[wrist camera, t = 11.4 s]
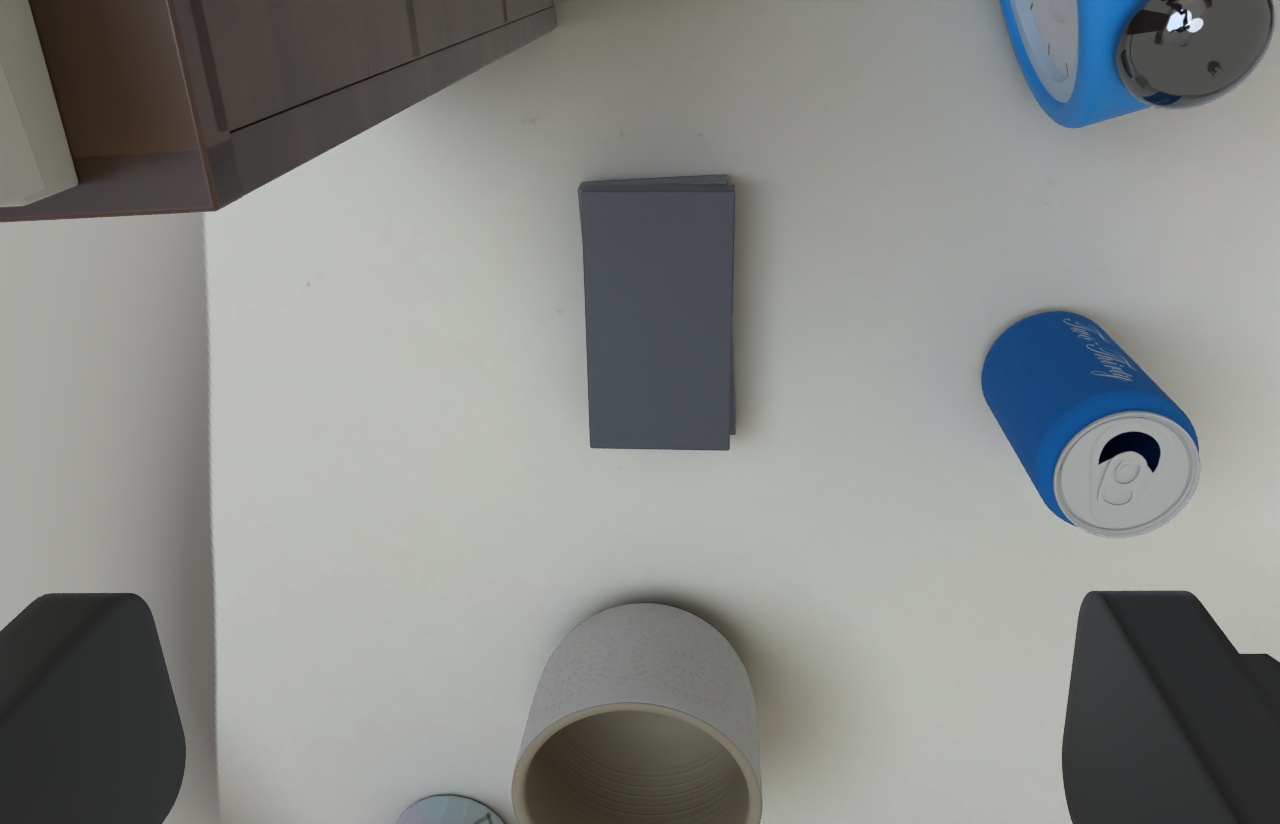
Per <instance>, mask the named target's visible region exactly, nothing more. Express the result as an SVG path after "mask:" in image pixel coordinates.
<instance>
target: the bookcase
mask: <svg viewBox="0 0 1280 824" xmlns="http://www.w3.org/2000/svg"><path fill="white" fill-rule="evenodd" d="M28 1H29V5H30V8H31V12H32V15H33V19H34V23H35V26H36V30H37V34H38V37H39V41H40V45H41V48H42V52H43V55H44V59H45V63H46V66H47V70H48V74H49V77H50V81H51V84H52V88H53V92H54V95H55V99H56V103H57V106H58V110H59V114H60V117H61V121H62V124H63V128H64V132H65V135H66V139H67V143H68V146H69V150H70V153H71V157H72V161H73V164H74V168H75V172H76V175H77V179H78V185H77V186H75V187H72V188H70V189H67V190H64V191H62V192H59V193H57V194H54V195H51V196H49V197H46V198H43V199H41V200H38V201H36V202H33V203H30V204H28V205H25V206H16V207H0V222H17V221H36V220H55V219H74V218H94V217H113V216H133V215H152V214H171V213H190V212H210V211H217V210H219V209H221V208H223V207H225V206H226V205H228V204H230V203H232V202H234V201H236V200H238V199H239V198H241V197H242V196H244V195H246V194H248V193H250V192H252V191H253V190H255V189H257V188H259V187H261V186H263V185H265V184H266V183H268V182H270V181H272V180H274V179H276V178H278V177H280V176H281V175H283V174H285V173H287V172H289V171H291V170H293V169H294V168H296V167H298V166H300V165H302V164H304V163H306V162H308V161H309V160H311V159H313V158H315V157H317V156H319V155H321V154H322V153H324V152H326V151H328V150H330V149H332V148H334V147H336V146H337V145H339V144H341V143H343V142H345V141H347V140H349V139H350V138H352V137H354V136H356V135H358V134H360V133H362V132H364V131H365V130H367V129H369V128H371V127H373V126H375V125H377V124H378V123H380V122H382V121H384V120H386V119H388V118H390V117H392V116H393V115H395V114H397V113H399V112H401V111H403V110H405V109H406V108H408V107H410V106H412V105H414V104H416V103H418V102H419V101H421V100H423V99H425V98H427V97H429V96H431V95H433V94H434V93H436V92H438V91H440V90H442V89H444V88H446V87H447V86H449V85H451V84H453V83H455V82H457V81H459V80H461V79H462V78H464V77H466V76H468V75H470V74H472V73H474V72H475V71H477V70H479V69H481V68H483V67H485V66H487V65H489V64H490V63H492V62H494V61H496V60H498V59H500V58H502V57H503V56H505V55H507V54H509V53H511V52H513V51H515V50H517V49H518V48H520V47H522V46H524V45H526V44H528V43H530V42H531V41H533V40H535V39H537V38H539V37H541V36H543V35H544V34H546V33H548V32H550V31H552V30H554V29H556V16H555V7H554V6H553V5H554V0H28Z"/></svg>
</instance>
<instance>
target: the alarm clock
mask: <svg viewBox="0 0 1280 824" xmlns="http://www.w3.org/2000/svg"><path fill="white" fill-rule="evenodd" d="M1000 4H1001V8H1002V12H1003V16H1004V19H1005V23H1006V26H1007V30H1008V33H1009V36H1010V39H1011V42H1012V45H1013V48H1014V51H1015V54H1016V57H1017V59H1018V62H1019V65H1020V67H1021V70H1022V72H1023V74H1024V77H1025V79H1026V81H1027V83H1028V85H1029V87H1030V89H1031V91H1032V93H1033V95H1034V97H1035V98H1036V100H1037V102H1038V103H1039V105H1040V106H1041V108H1042V109H1043V110H1044V111H1045V113H1046V114H1047V115H1048V116H1049V117H1050V118H1052V119H1053V120H1054V121H1055V122H1056V123H1058V124H1059V125H1062V126H1065V127H1068V128H1080V127H1083V126H1087V125H1090V124H1093V123H1097V122H1100V121H1104V120H1107V119H1110V118H1114V117H1117V116H1121V115H1124V114H1127V113H1131V112H1134V111H1137V110H1141V109H1144V108H1148V107H1151V106H1153V107H1156V108H1161V109H1169V110H1171V109H1188V108H1193V107H1197V106H1201V105H1204V104H1207V103H1209V102H1212V101H1214V100H1216V99H1218V98H1220V97H1222V96H1224V95H1225V94H1227V93H1228V92H1230V91H1231V90H1233V89H1234V88H1236V87H1237V86H1238V85H1239V84H1241V83H1242V82H1243V81H1244V80H1245V79H1246V78H1247V77H1248V76H1249V75H1250V74H1251V73H1252V72H1253V71H1254V70H1255V69H1256V67H1257V66H1258V65H1259V63H1260V62H1261V60H1262V59H1263V57H1264V55H1265V53H1266V51H1267V49H1268V47H1269V45H1270V42H1271V40H1272V36H1273V32H1274V29H1275V6H1274V2H1273V0H1000Z"/></svg>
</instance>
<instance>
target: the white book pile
mask: <svg viewBox="0 0 1280 824" xmlns="http://www.w3.org/2000/svg"><path fill="white" fill-rule="evenodd" d="M77 185H78V179H77V175H76V172H75V168H74V164H73V161H72V157H71V153H70V150H69V146H68V143H67V139H66V135H65V132H64V128H63V124H62V121H61V117H60V114H59V110H58V106H57V103H56V99H55V95H54V92H53V88H52V84H51V81H50V77H49V74H48V70H47V66H46V63H45V59H44V55H43V52H42V48H41V45H40V41H39V37H38V34H37V30H36V26H35V23H34V19H33V15H32V12H31V8H30V5H29V1H28V0H0V207H16V206H25V205H28V204H30V203H33V202H36V201H38V200H41V199H43V198H46V197H49V196H51V195H54V194H57V193H59V192H62V191H64V190H67V189H70V188H72V187H75V186H77Z"/></svg>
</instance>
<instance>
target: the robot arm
mask: <svg viewBox="0 0 1280 824" xmlns="http://www.w3.org/2000/svg"><path fill="white" fill-rule="evenodd" d="M185 758H186V746H185V737H184V732H183V728H182V724H181V720H180V716H179V713H178V709H177V705H176V702H175V697H174V694H173V690H172V686H171V682H170V679H169V675H168V671H167V667H166V663H165V660H164V656H163V652H162V648H161V645H160V641H159V637H158V633H157V629H156V626H155V622H154V619H153V616H152V613H151V610H150V608H149V606H148V605H147V603H146V602H145V601H144V600H143V599H142V598H141V597H140V596H138V595H136V594H133V593H51V594H46V595H43V596H41V597H39V598H37V599H36V600H34V601H33V602H32V603H31V604H30V605H29V606H27V607H26V608H25V609H24V610H23V611H22V612H21V613H20V614H19V615H18V616H17V617H16V618H15V619H13V620H12V621H11V622H10V623H9V624H8V625H7V626H6V627H5V628H4V629H3V630H1V631H0V824H162V823H163V821H164V820H165V818H166V817H167V815H168V814H169V812H170V810H171V809H172V806H173V805H174V803H175V801H176V798H177V796H178V793H179V790H180V787H181V784H182V780H183V775H184V769H185ZM1062 770H1063V781H1064V789H1065V795H1066V800H1067V805H1068V809H1069V813H1070V816H1071V820H1072V822H1073V824H1280V662H1278V661H1277V660H1275V659H1274V658H1272V657H1271V656H1269V655H1268V654H1239V653H1238V652H1237V650H1236V649H1235V648H1234V646H1233V645H1232V644H1231V642H1230V641H1229V640H1228V638H1227V637H1226V635H1225V634H1224V633H1223V631H1222V630H1221V629H1220V627H1219V626H1218V625H1217V623H1216V622H1215V621H1214V619H1213V618H1212V617H1211V615H1210V614H1209V613H1208V611H1207V610H1206V609H1205V607H1204V606H1203V605H1202V603H1201V602H1200V601H1199V600H1198V599H1197V597H1196V596H1195V595H1193V594H1192V593H1190V592H1188V591H1091V592H1089V593H1088V594H1087V595H1086V596H1085V598H1084V599H1083V602H1082V604H1081V608H1080V611H1079V617H1078V624H1077V632H1076V640H1075V648H1074V656H1073V664H1072V672H1071V680H1070V688H1069V696H1068V704H1067V711H1066V719H1065V727H1064V735H1063V745H1062Z"/></svg>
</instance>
